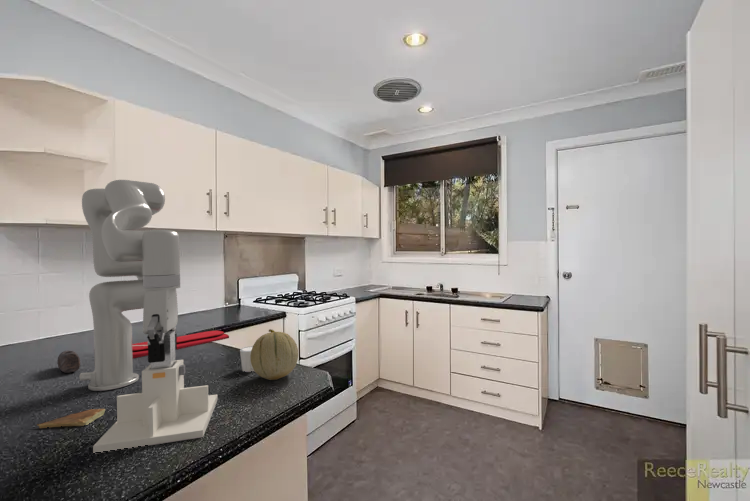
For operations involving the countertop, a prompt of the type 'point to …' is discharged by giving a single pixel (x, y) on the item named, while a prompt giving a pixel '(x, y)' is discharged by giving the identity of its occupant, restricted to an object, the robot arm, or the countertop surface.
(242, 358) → the shot glass
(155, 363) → the steel post
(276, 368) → the cantaloupe
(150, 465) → the countertop surface
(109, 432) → the cream stand
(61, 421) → the shard
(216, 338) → the dish drying mat
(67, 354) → the perforated stone tool
